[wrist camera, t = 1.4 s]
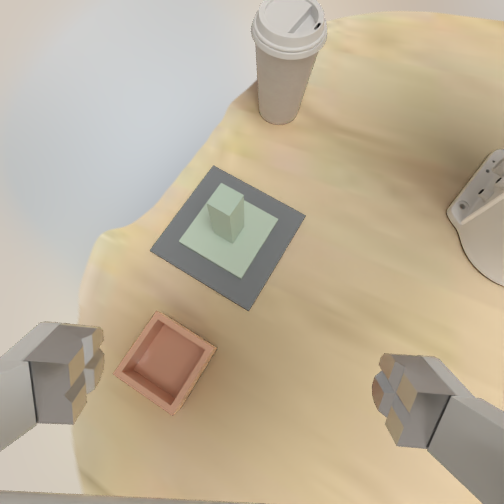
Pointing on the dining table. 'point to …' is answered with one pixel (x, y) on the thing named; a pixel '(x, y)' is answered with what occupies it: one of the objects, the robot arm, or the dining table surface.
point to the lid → (229, 231)
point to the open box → (165, 362)
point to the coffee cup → (286, 54)
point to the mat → (207, 271)
